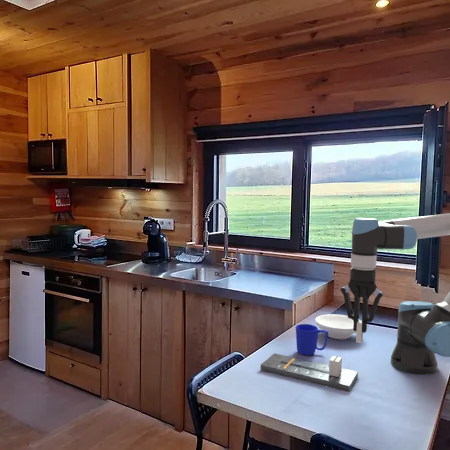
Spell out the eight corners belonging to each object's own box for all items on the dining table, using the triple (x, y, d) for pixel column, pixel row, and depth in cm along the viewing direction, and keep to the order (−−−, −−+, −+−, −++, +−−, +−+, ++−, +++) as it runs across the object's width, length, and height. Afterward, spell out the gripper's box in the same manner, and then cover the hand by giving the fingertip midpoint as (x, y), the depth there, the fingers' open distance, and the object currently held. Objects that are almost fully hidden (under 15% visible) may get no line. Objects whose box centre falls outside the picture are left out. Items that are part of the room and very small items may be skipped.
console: (357, 377, 142) (358, 371, 142) (349, 392, 131) (349, 385, 131) (274, 358, 157) (274, 352, 156) (260, 370, 146) (260, 364, 146)
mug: (327, 359, 157) (328, 332, 156) (294, 356, 159) (295, 329, 158) (327, 350, 165) (327, 325, 164) (295, 348, 167) (296, 323, 166)
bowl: (355, 348, 167) (356, 331, 167) (308, 339, 178) (308, 323, 177) (367, 334, 184) (368, 319, 183) (323, 326, 194) (324, 311, 194)
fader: (341, 372, 140) (341, 357, 140) (338, 376, 137) (338, 361, 136) (332, 370, 142) (332, 355, 141) (328, 374, 138) (329, 359, 138)
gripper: (387, 268, 133) (383, 342, 135) (345, 263, 139) (341, 334, 141) (383, 272, 126) (378, 349, 128) (339, 267, 133) (335, 341, 135)
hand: (359, 341), depth 135 cm, fingers closed
